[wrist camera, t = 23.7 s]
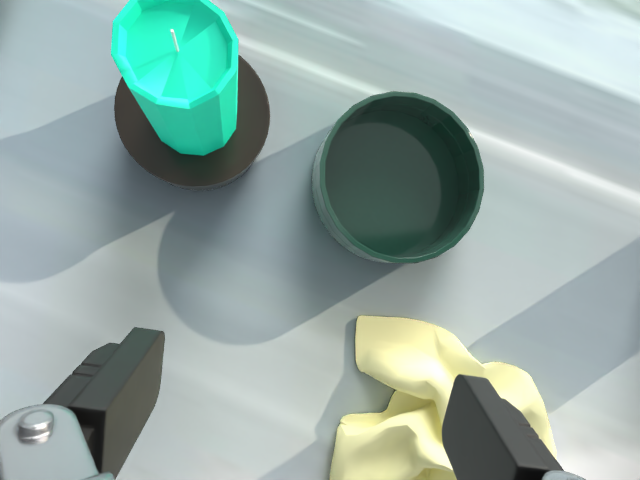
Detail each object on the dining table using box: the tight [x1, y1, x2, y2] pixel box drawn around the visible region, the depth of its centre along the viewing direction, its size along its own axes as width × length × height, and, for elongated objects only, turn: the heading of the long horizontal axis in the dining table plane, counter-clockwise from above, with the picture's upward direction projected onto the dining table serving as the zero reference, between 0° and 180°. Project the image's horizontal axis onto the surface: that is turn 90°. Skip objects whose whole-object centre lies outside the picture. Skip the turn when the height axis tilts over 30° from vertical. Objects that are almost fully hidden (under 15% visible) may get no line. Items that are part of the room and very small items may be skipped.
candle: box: [111, 0, 238, 156], centre depth 26 cm, size 6×6×12 cm
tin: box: [312, 91, 484, 263], centre depth 37 cm, size 13×13×4 cm
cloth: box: [329, 315, 556, 480], centre depth 36 cm, size 22×19×6 cm
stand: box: [114, 55, 270, 191], centre depth 34 cm, size 11×11×4 cm
